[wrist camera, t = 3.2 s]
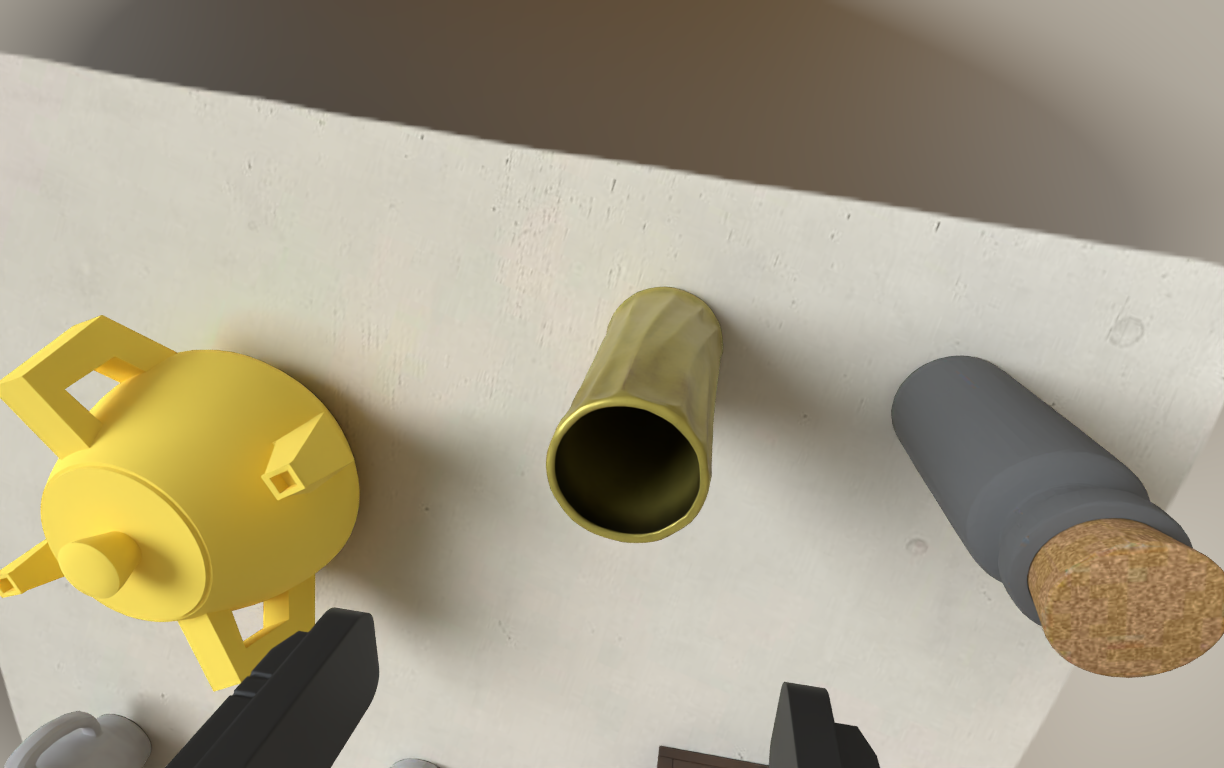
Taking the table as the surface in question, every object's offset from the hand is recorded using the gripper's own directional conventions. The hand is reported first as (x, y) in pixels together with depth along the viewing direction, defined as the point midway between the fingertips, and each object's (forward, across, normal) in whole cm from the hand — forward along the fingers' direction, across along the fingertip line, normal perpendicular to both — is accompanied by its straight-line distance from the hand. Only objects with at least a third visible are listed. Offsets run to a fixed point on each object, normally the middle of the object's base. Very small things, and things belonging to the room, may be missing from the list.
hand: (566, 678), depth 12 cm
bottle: (+22, -15, +2) cm, 27 cm away
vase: (+22, 0, 0) cm, 23 cm away
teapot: (+23, +25, +10) cm, 35 cm away
